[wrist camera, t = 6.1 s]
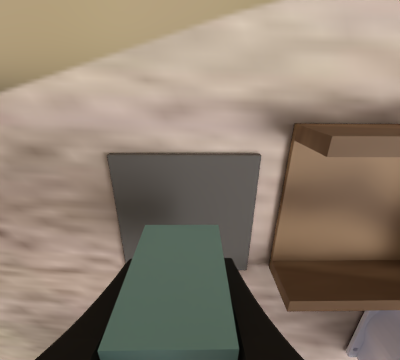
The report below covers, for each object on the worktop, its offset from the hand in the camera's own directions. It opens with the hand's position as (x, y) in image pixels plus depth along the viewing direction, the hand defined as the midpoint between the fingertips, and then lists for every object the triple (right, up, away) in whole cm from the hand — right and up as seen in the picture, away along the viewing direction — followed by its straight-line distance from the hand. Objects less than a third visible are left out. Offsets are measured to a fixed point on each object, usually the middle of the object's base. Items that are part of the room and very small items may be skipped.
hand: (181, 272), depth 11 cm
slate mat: (0, +2, +5) cm, 5 cm away
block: (0, +1, +1) cm, 1 cm away
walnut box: (+13, +3, +5) cm, 14 cm away
